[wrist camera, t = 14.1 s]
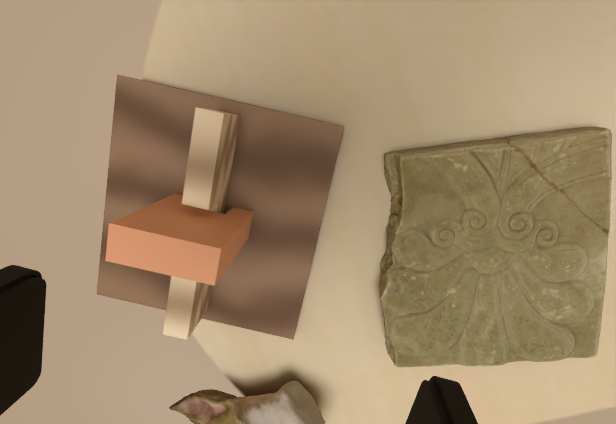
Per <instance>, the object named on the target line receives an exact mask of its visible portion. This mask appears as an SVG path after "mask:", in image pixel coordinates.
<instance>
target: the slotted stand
mask: <svg viewBox="0 0 616 424" xmlns="http://www.w3.org/2000/svg"><path fill="white" fill-rule="evenodd" d="M343 130H344V126H340V125H336V124H331V123H327V122H322V121H318V120H314V119H309V118H305V117H301V116H296V115H292V114H287V113H283V112H279V111H274V110H270V109H266V108H261V107H257V106H252V105H248V104H244V103H239V102H235V101H231V100H226V99H222V98H218V97H213V96H209V95H204V94H200V93H196V92H191V91H187V90H183V89H178V88H174V87H169V86H165V85H161V84H156V83H152V82H148V81H143V80H138V79H134V78H130V77H125V76H121V75H117V83H116V94H115V105H114V115H113V127H112V137H111V147H110V159H109V169H108V179H107V190H106V201H105V211H104V222H103V233H102V243H101V254H100V265H99V276H98V287H97V294H98V295H103V296H107V297H111V298H116V299H120V300H124V301H128V302H133V303H137V304H142V305H146V306H150V307H155V308H159V309H163V310H166V317H165V323H164V330H163V334H164V335H168V336H173V337H177V338H182V339H186V340H187V339H188V338H189V336H190V335H191V333H192V332H193V330H194V329H195V327H196V326H197V324H198V323H199V321H200V320H201V318H202V319H207V320H211V321H215V322H220V323H224V324H228V325H233V326H237V327H242V328H246V329H250V330H255V331H259V332H263V333H268V334H272V335H276V336H281V337H285V338H289V339H294V335H295V330H296V326H297V322H298V318H299V314H300V309H301V305H302V301H303V297H304V293H305V289H306V284H307V280H308V276H309V272H310V268H311V264H312V259H313V255H314V251H315V247H316V243H317V238H318V234H319V230H320V226H321V222H322V218H323V213H324V209H325V205H326V201H327V197H328V192H329V188H330V184H331V180H332V176H333V172H334V167H335V163H336V159H337V155H338V151H339V146H340V142H341V138H342V134H343ZM173 194H179V195H183V198H182V204H184V205H189V206H192V207H196V208H200V209H204V210H209V211H213V212H217V213H222V214H226V213H227V212H228V211H229V210H230V209H232V208H233V207H235V208H240V209H244V210H249V211H253V217H252V222H251V227H250V232H249V237H248V240H247V241H246V242H245V244H244V245H243V247H242V248H241V249H240V251H239V252H238V254H237V255H236V256H235V258H234V259H233V261H232V262H231V263H230V265H229V266H228V268H227V269H226V271H225V272H224V273H223V275H222V276H221V278H220V279H219V280H218V282H217V283H216V285H215V286H213V285H209V284H204V283H200V282H196V281H191V280H187V279H183V278H178V277H174V276H169V275H165V274H161V273H156V272H152V271H148V270H143V269H139V268H135V267H130V266H126V265H122V264H117V263H113V262H108V261H105V259H106V248H107V238H108V228H109V223H110V222H112V221H115V220H117V219H119V218H122V217H124V216H126V215H128V214H131V213H133V212H135V211H137V210H140V209H142V208H144V207H146V206H149V205H151V204H153V203H155V202H158V201H160V200H162V199H164V198H167V197H169V196H171V195H173Z"/></svg>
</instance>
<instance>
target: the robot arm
mask: <svg viewBox="0 0 616 424" xmlns="http://www.w3.org/2000/svg"><path fill="white" fill-rule="evenodd" d="M45 297H46V282H45V280H43V279H42V276H41V274H40V272H38V271H35V270H32V269H28V268H24V267H20V266H16V265H11V266H7V267H5V268H3V269H1V270H0V415H1V414H2V413H4V412H5V411H6V410H7V409H8V408H9V407H10V406H11V405H13V403H15V402H16V401H17V400H18V399H19V398H20V397H21V396H23V395H24V394H25V393H26V392H27V391H28V390H29V389H31V387H33V386H34V384H35V383H36V382H37V380H38V378H39V376H40V373H41V367H42V348H43V332H44V314H45ZM406 424H478V423H477V421H476V419H475V416H474V414H473V412H472V410H471V407H470V405H469V403H468V401H467V399H466V396H465V394H464V392H463V390H462V387H461V386H460V384H459V383H458V382H456V381H452V380H448V379H444V378H440V377H437V376H433V377H432V378H431V379H430V380H429V381H427V380H424V381H423V382H422V383H421V386H420V388H419V391H418V393H417V396H416V398H415V401H414V403H413V406H412V408H411V411H410V414H409V416H408V419H407V421H406Z"/></svg>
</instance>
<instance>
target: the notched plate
mask: <svg viewBox="0 0 616 424" xmlns="http://www.w3.org/2000/svg"><path fill="white" fill-rule="evenodd" d="M182 198H183V195H179V194H173V195H171V196H169V197H167V198H164V199H162V200H160V201H158V202H155V203H153V204H151V205H149V206H146V207H144V208H142V209H140V210H137V211H135V212H133V213H131V214H128V215H126V216H124V217H122V218H119V219H117V220H115V221H112V222H110V223H109V228H108V238H107V248H106V259H105V261H108V262H113V263H117V264H122V265H126V266H130V267H135V268H139V269H143V270H148V271H152V272H156V273H161V274H165V275H169V276H174V277H178V278H183V279H187V280H191V281H196V282H200V283H204V284H209V285H213V286H215V285H216V283H217V282H218V280H219V279H220V278H221V276H222V275H223V273H224V272H225V271H226V269H227V268H228V266H229V265H230V263H231V262H232V261H233V259H234V258H235V256H236V255H237V254H238V252H239V251H240V249H241V248H242V247H243V245H244V244H245V242H246V241H247V240H248V237H249V232H250V227H251V222H252V217H253V211H249V210H244V209H240V208H235V207H233V208H232V209H230V210H229V211H228V212H227V213H226V214H222V213H217V212H213V211H209V210H204V209H200V208H196V207H192V206H189V205H184V204H182Z"/></svg>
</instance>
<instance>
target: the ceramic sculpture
mask: <svg viewBox="0 0 616 424" xmlns="http://www.w3.org/2000/svg"><path fill="white" fill-rule="evenodd" d="M170 409H171V410H175V411H178V412H180V413H182V414H184V415H186V417H188V418H189V419H190V421H192V422H193V423H195V424H325V421H324V419H323V417H322V414H321V412H320V410H319V409H318V407H317V406H316V403H315V400H314V398H313V397H312V395H311V394H310V393H309V392H308V391H307V390H306V389H305V388H304V387H303V386H302V385H301V384H300V383H299V382H298V381H295V380H293V381H290V382H288V383H286V384H285V385H283V386H282V387H281V388H280V389H279V390H278V391H277V392H276V393H269V394H263V395H257V396H247V397H236V396H234V395H230V394H227V393H224V392H221V391H217V390H202V391H198V392H196V393H192V394H190V395H188V396H186V397H184V398H183V399H181V400H180V401H178V402H177V403H175V404H173V405H172V406H170Z"/></svg>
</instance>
